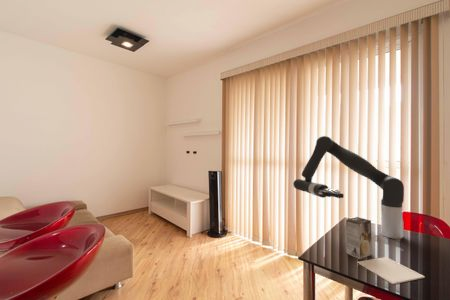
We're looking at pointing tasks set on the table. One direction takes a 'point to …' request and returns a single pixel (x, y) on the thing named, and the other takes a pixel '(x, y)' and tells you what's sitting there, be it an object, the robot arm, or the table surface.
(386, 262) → the mat
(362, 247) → the coffee box
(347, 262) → the table surface
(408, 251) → the table surface
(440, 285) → the table surface
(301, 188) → the robot arm
